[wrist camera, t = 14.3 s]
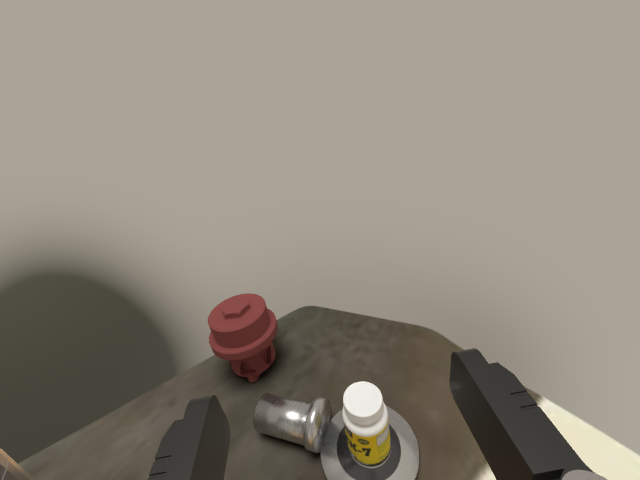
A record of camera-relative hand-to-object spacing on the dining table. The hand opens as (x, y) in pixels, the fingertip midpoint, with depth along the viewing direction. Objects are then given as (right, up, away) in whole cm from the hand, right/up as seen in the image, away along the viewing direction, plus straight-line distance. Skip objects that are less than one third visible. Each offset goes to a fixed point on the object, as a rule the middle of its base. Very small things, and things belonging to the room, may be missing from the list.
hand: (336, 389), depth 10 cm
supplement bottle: (+5, -18, +24) cm, 31 cm away
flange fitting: (+1, -19, +26) cm, 32 cm away
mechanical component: (-11, -15, +39) cm, 43 cm away
